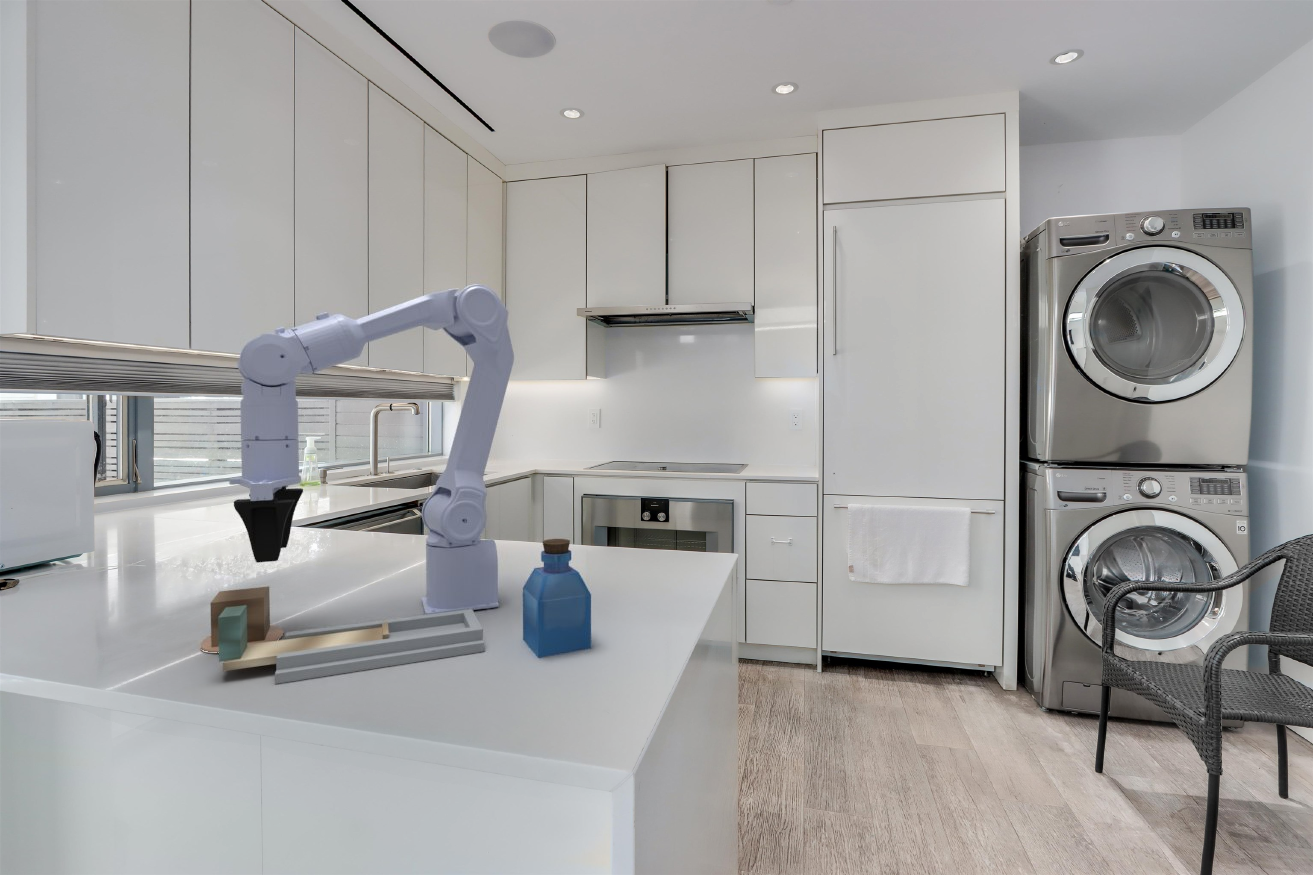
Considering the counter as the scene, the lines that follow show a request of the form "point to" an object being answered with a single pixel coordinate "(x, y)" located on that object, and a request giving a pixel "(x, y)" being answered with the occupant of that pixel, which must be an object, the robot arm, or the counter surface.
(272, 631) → the coaster
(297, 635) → the lane board
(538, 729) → the counter surface
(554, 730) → the counter surface
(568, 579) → the perfume bottle
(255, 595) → the walnut block
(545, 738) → the counter surface
